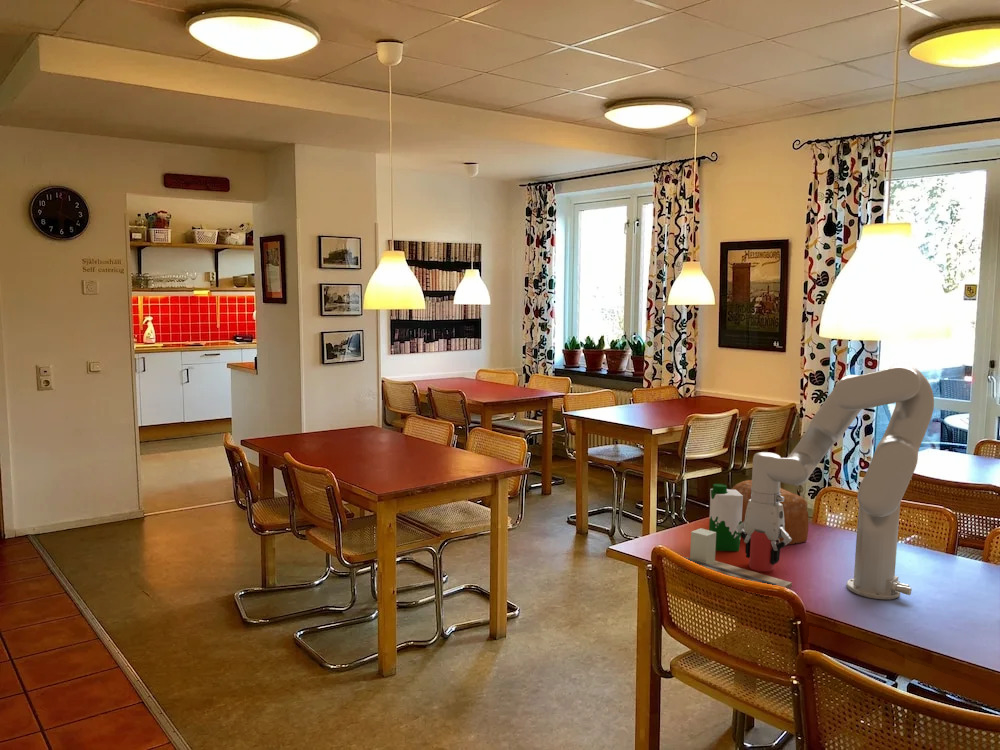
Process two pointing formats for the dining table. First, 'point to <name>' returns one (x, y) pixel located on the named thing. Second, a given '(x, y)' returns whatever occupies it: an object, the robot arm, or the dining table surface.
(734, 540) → the milk carton
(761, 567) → the beer can
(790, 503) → the bread
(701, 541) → the carton
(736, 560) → the dining table surface
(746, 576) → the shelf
